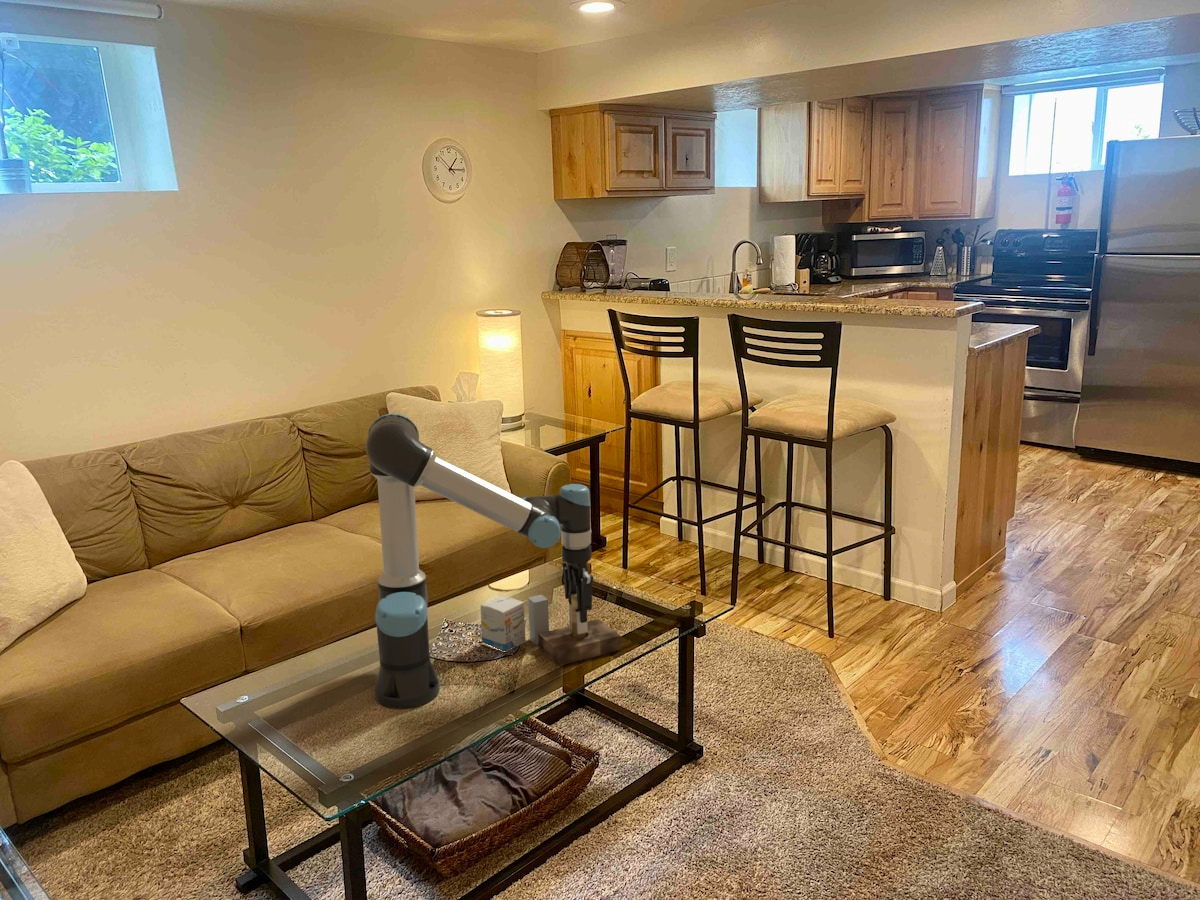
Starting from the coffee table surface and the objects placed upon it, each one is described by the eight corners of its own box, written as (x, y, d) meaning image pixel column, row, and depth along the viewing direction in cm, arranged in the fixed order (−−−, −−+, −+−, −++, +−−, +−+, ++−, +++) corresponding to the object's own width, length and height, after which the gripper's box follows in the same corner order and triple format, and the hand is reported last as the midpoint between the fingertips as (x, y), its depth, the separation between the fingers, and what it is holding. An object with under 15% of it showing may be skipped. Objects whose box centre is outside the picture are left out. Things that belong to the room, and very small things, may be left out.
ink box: (504, 653, 231) (502, 612, 228) (481, 645, 236) (479, 604, 233) (526, 641, 237) (525, 601, 235) (503, 634, 242) (501, 593, 240)
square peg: (535, 644, 235) (534, 602, 233) (529, 639, 239) (527, 597, 236) (549, 641, 237) (547, 599, 234) (543, 635, 241) (541, 594, 238)
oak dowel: (576, 649, 230) (574, 599, 227) (570, 644, 233) (568, 594, 230) (588, 646, 232) (587, 596, 228) (582, 641, 235) (581, 591, 231)
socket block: (558, 666, 223) (557, 651, 222) (538, 647, 234) (538, 633, 233) (620, 649, 231) (620, 635, 230) (599, 632, 242) (598, 618, 241)
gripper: (604, 551, 220) (606, 638, 226) (575, 533, 234) (577, 615, 240) (577, 557, 217) (580, 645, 223) (549, 538, 231) (552, 621, 237)
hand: (579, 629), depth 231 cm, fingers closed on oak dowel, 3 cm apart
